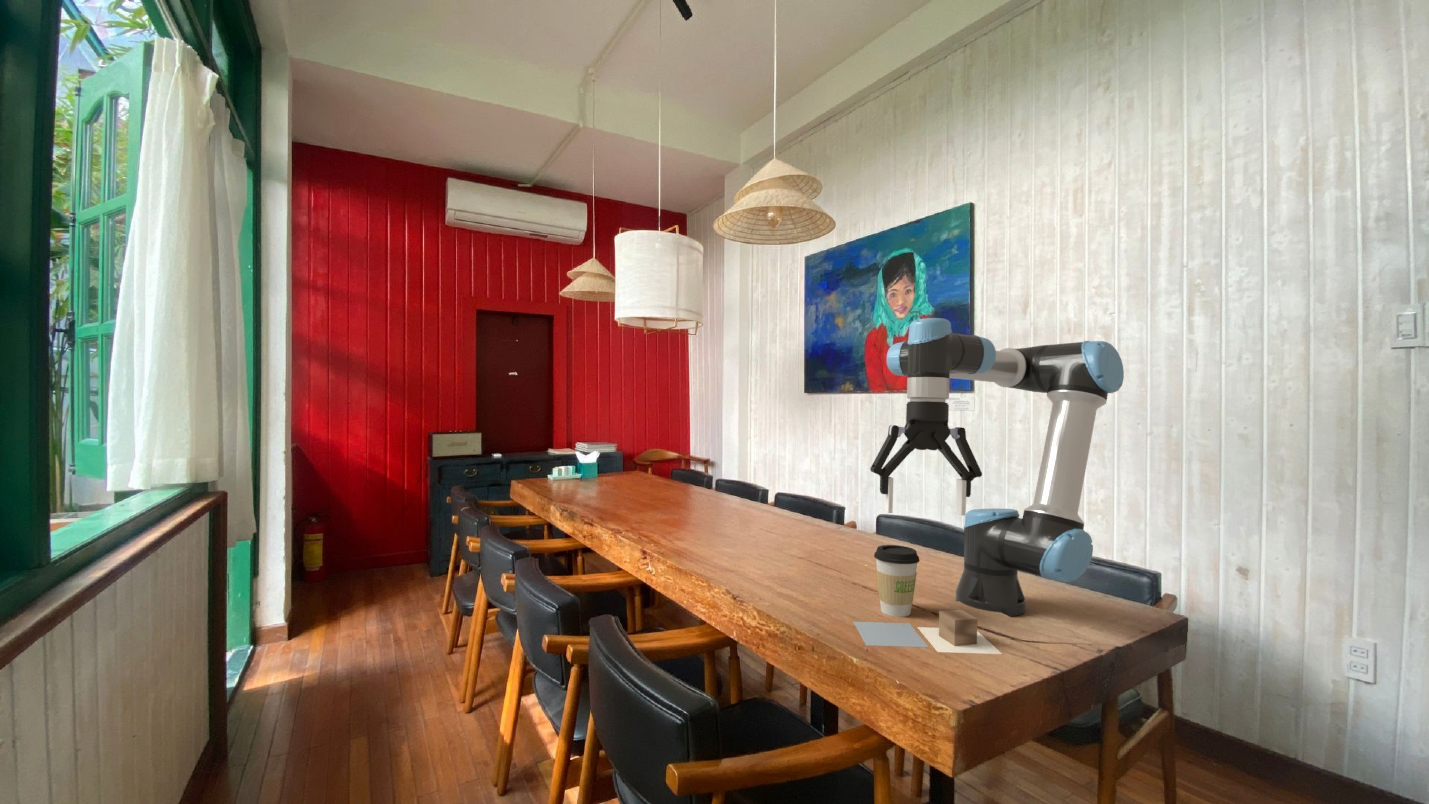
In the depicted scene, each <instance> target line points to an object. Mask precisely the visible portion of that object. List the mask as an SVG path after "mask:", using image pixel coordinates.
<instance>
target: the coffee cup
mask: <svg viewBox="0 0 1429 804" xmlns="http://www.w3.org/2000/svg"><path fill="white" fill-rule="evenodd" d="M873 557H874V558H875V559H876V560H875V561H876V562H875V563H876V568H875V569H876V570H875V571H876V578H877V579H876V581H877V589H878V598H879V603H880V611H881V612H882V613H883V614H884V615H888V616H889V617H891V616H892V617H895V618H896V617H898V618H905V617H909V616H910V615H911V612H912V611H911V610H912V607H913V606H912V605H913V601H914V596H915V588H916V581H917V575H918V574H917V573H918V572H917V567H918V563H919V562H920V560H921V559H920V557H919V555H918V552H917V550H916V549H915V548H912V547H909V546H904V545H897V544H885V545H879V546H877V548H876V551H875V552H874V555H873Z"/></svg>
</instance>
